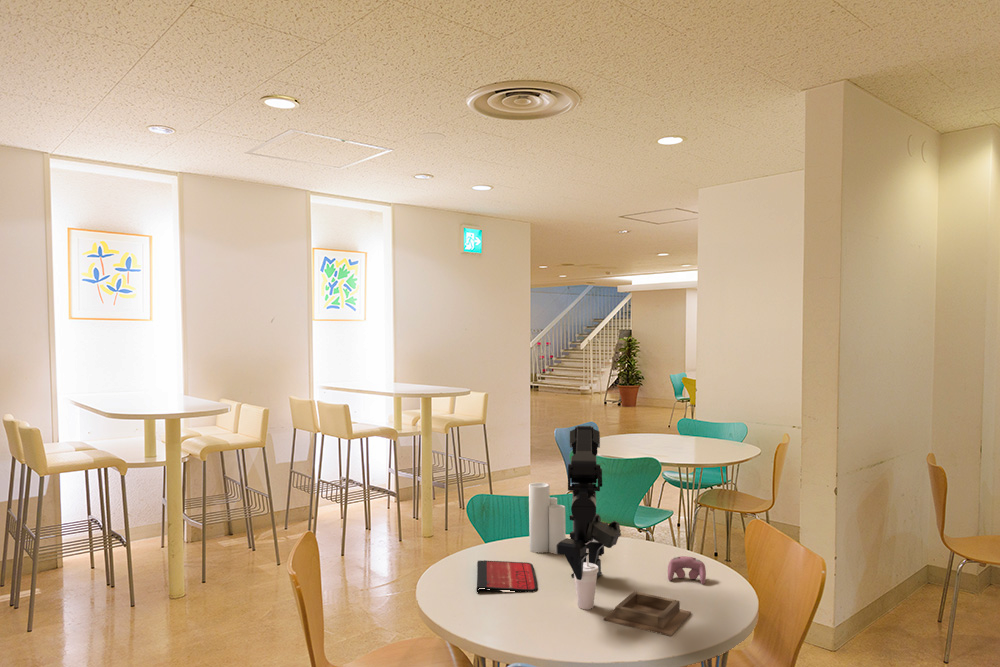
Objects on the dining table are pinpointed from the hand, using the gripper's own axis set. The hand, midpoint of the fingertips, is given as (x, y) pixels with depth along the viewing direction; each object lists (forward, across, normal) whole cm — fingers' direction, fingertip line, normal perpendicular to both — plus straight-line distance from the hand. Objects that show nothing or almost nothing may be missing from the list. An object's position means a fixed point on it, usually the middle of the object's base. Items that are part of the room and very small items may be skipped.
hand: (585, 575), depth 162 cm
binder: (+8, +6, +27) cm, 29 cm away
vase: (+8, +33, +29) cm, 45 cm away
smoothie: (+8, 0, 0) cm, 8 cm away
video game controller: (+8, +30, -15) cm, 35 cm away
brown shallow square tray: (+8, +2, -15) cm, 17 cm away
